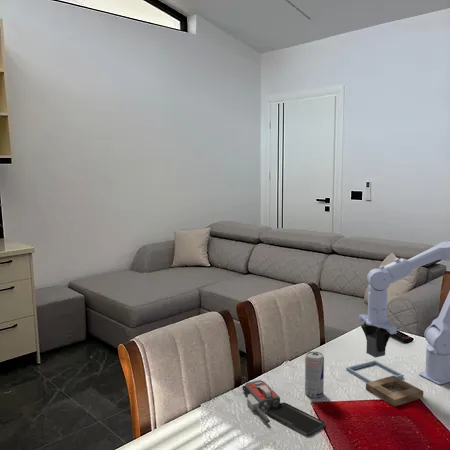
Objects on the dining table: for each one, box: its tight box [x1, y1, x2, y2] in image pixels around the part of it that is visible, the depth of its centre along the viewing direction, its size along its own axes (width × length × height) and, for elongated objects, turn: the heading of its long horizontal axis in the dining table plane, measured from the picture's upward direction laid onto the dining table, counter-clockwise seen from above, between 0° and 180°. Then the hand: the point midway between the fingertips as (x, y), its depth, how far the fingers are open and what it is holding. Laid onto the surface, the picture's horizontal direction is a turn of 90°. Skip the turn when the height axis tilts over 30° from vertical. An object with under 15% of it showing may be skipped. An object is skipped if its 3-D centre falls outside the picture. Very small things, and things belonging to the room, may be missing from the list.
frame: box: [345, 359, 404, 383], centre depth 146 cm, size 12×12×1 cm
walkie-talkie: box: [241, 379, 281, 423], centre depth 127 cm, size 9×4×20 cm
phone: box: [265, 402, 326, 437], centre depth 120 cm, size 8×1×15 cm
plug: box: [366, 333, 386, 358], centre depth 144 cm, size 4×4×6 cm
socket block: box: [365, 374, 424, 407], centre depth 133 cm, size 11×11×2 cm
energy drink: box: [304, 351, 325, 399], centre depth 133 cm, size 5×5×12 cm
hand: (376, 348), depth 144 cm, fingers closed on plug, 4 cm apart
